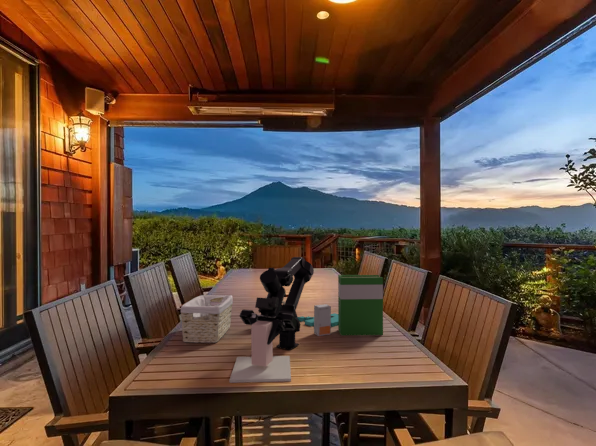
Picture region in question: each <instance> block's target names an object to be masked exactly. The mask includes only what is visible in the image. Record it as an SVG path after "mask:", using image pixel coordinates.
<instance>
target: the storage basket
mask: <svg viewBox="0 0 596 446" xmlns="http://www.w3.org/2000/svg"><path fill="white" fill-rule="evenodd" d="M233 299H234V298H233V295H232V294H229V295H228V294H227V295H225V294H224V295H223V294H222V295H221V294H218V295H217V294H215V295H214V294H211V295H210V294H209V295H207V294H205V295H204V294H200V295H199V296H196V297H194V298H192V299H191V300H189V301H187V302H185V303H184V304H183V305H181V307H180V318H181V319H180V321H181V329H182V330H181V332H182V341H183V343H198V344H199V343H202V344H203V343H204V344H206V343H208V344H210V343H212V344H213V343H215V344H216V343H218V342H219V341H220V339H221V338H222V337H224V336H225V334H226V333H227V332H228V330H229V329H230V328H231V321H232V309H233V303H234V300H233ZM212 303H218V304H215V305H212Z"/></svg>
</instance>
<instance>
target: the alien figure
mask: <svg viewBox="0 0 596 446" xmlns="http://www.w3.org/2000/svg"><path fill="white" fill-rule="evenodd" d="M297 317H298V320H299V322H301V323H303V322H304V325H306V326H308V327H314V316H309V315H308V316H297ZM337 326H338V313H331V328H333V327H337Z"/></svg>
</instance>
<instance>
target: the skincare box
mask: <svg viewBox="0 0 596 446" xmlns="http://www.w3.org/2000/svg"><path fill="white" fill-rule="evenodd" d="M331 312H332V306H331V305H329V304H327V303H325V304H316V305H314V307H313V317H314V326H313V334H314V335H316V336H317V337H320V336H321V337H322V336H328V335H329V336H330V335H331V333H332V332H331V331H332V330H331V329H332V327H331V314H332V313H331Z"/></svg>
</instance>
